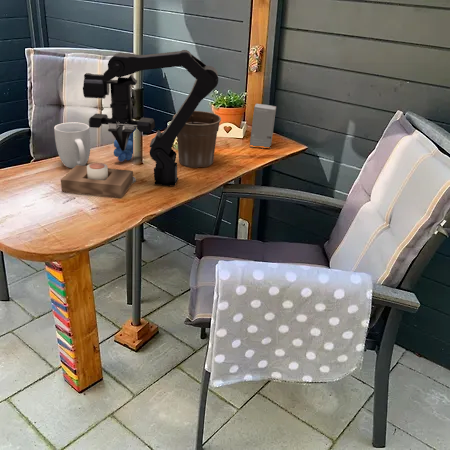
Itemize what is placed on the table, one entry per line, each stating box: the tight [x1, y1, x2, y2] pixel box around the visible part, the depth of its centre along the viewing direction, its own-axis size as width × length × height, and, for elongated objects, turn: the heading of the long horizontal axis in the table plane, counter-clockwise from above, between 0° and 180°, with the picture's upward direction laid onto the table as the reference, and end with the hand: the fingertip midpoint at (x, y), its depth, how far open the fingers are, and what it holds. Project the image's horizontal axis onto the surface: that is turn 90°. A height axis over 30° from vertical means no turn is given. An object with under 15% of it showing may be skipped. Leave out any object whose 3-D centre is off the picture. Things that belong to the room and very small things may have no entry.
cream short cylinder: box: [86, 162, 108, 180], centre depth 147 cm, size 6×6×6 cm
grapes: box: [113, 133, 134, 163], centre depth 168 cm, size 12×7×12 cm, turn 140°
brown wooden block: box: [60, 165, 134, 199], centre depth 148 cm, size 18×12×4 cm, turn 83°
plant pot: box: [172, 110, 222, 169], centre depth 169 cm, size 16×16×16 cm
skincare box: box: [249, 103, 277, 148], centre depth 189 cm, size 8×7×16 cm
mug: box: [53, 121, 92, 169], centre depth 159 cm, size 15×11×13 cm
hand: (123, 150), depth 150 cm, fingers closed
